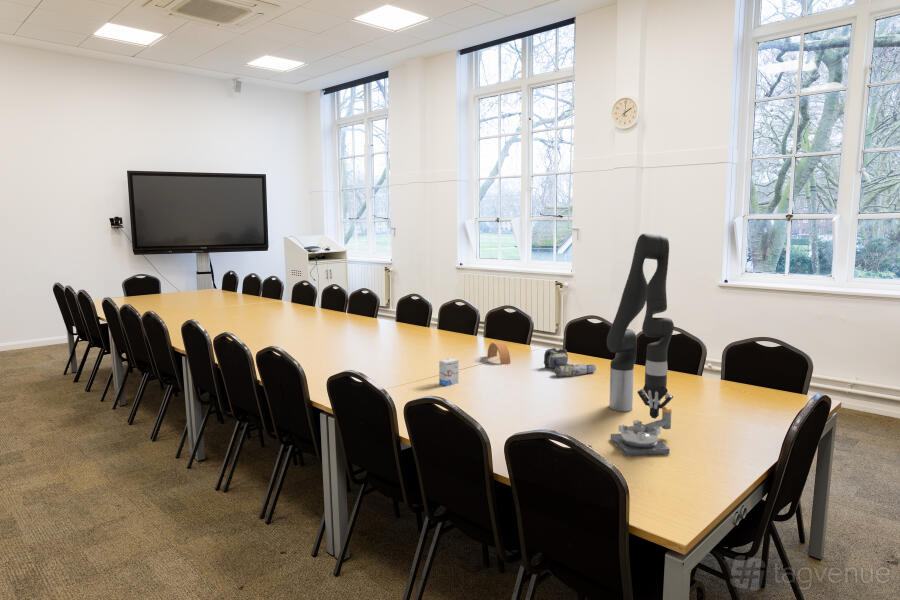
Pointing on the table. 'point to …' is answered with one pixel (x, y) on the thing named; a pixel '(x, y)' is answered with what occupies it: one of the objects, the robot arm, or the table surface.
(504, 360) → the arch
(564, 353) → the power drill
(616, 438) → the base plate
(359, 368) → the table surface
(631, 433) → the orange knob lever
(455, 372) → the ink box
